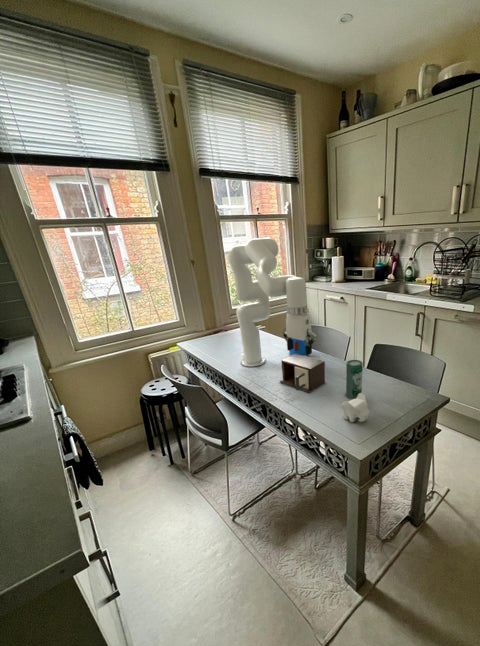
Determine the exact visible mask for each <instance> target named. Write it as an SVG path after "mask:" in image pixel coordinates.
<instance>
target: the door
mask: <svg viewBox="0 0 480 646" xmlns="http://www.w3.org/2000/svg"><path fill="white" fill-rule="evenodd" d="M294 369H295V385H296V388H295V390H296V391H300V390H299V389H301V388H302V387H303V388H306V389H309V377H308V370H305V369H302V368H299V367H296V366H295V367H294Z"/></svg>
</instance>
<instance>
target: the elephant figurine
mask: <svg viewBox="0 0 480 646" xmlns="http://www.w3.org/2000/svg"><path fill="white" fill-rule="evenodd" d="M365 395H366V394H364V393H362V392H361V393H359V394H358V396H357V398H356V399H354V398H353V399H351V400H349V401H347V400H346V401H343V402H342V403H341V405H340V408H341V411H342V415H343V416H342V417H343V418H344V419H345V420H349V422H350V423H354V422H356V419H357V420H358V422H360V423H363V422H366V420H368V419H369V415H371V417H372V418H373V417H374V416H373V414H372V412H371V411H370V410H369V409H368V402H367V398H366V396H365Z"/></svg>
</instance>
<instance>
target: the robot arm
mask: <svg viewBox="0 0 480 646" xmlns="http://www.w3.org/2000/svg"><path fill="white" fill-rule="evenodd" d="M278 254H279V245H278V242H277V241H276V240H275V239H274V238H272V237H261V238H259V237H258V238H257V237H256V238H252V239H249V240H247V242H246V243H245V244H239V245H233V246H231V247H230V248H229V249H228V252H227V259H228V263H229V266H230V268H231V271H232V274H233V280H234V286H235V292H236V293H235V294H236V297H237V300H238V301H239V302H241V303H246V304H242V305H240V306H238V307H237V308H236V311H235V312H236V313H235V314H236V315H235V316H236V318H237V321H238V325H239V331H240V339H241V343H242V344H241V347H242V352H241V354H240V357H242V360H241V365H242V366H244V367H250V368H251V367H252V368H253V367H258V366H261V365H263V364H264V363H265V362H266V358H265V357H263V355H262V345H261V337H260V330H259V328H258V327H257V325H255V323H257V322H261V321H262V322H263V321H265V320H268V319H269V318H270V317H271V305H270V298H277V297H283V296H286V308H287V310H288V314H287V313H286V318H285V327H284V328H282V329H281V332H282V336H283V338H284V340H285V342H286V349H287V351H289V350H291V349H293V348H294V347H293V340H292V338H293V339H298V340H303V341H304V342H305V343H306V346H305V351H306V355H305V356H309V355H311V354H312V352H313V347H312V345H313V344H314V343H315V342H316V338H317V337H318V336H317V334H316V333H315V332H313V330H312V321H311V318H310V314H309V311H310V310H309V309H308V307H307V306H308V305H307V284H306V283H307V282H306V279H305V278H304V277H302V276H301V277H300V276H297V275H296V276H295V275H293V274H286V275H278V276H269V275H270V274H272V272H274V270H275V269H276V268H277V265H278V261H277V258H276V257H277V256H278ZM251 264H254V265H255V266H256V268H257V271H256V280H253V275H252V270H251V269H250V268H249V267H248V265H251ZM254 301H257V302H254ZM247 302H252V303H247ZM287 310H286V311H287ZM307 340H308V341H307Z"/></svg>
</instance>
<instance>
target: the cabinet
mask: <svg viewBox="0 0 480 646" xmlns="http://www.w3.org/2000/svg"><path fill="white" fill-rule="evenodd" d="M295 366H296V367H299V368H302V369H305V370H308V377H309V389H306V388H303V387H302V388H301V389H299V390H298V391H302V392H305V393H307V394H311V393H312V392H314V391H315V390H317V389H318V388H320V387H322V386H323V385H325V384H326V361H325V360H321V359H318V358H313V357H310V356H308V355H305V356H303V355H299V354H294V355H290V356H288V357H285V358H283V359H281V372H282V373H281V375H282V379H280V380H279V381H280V384H281V385H285V386H287V387H290V388H293V389H296V385H295V369H294V367H295Z"/></svg>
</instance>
